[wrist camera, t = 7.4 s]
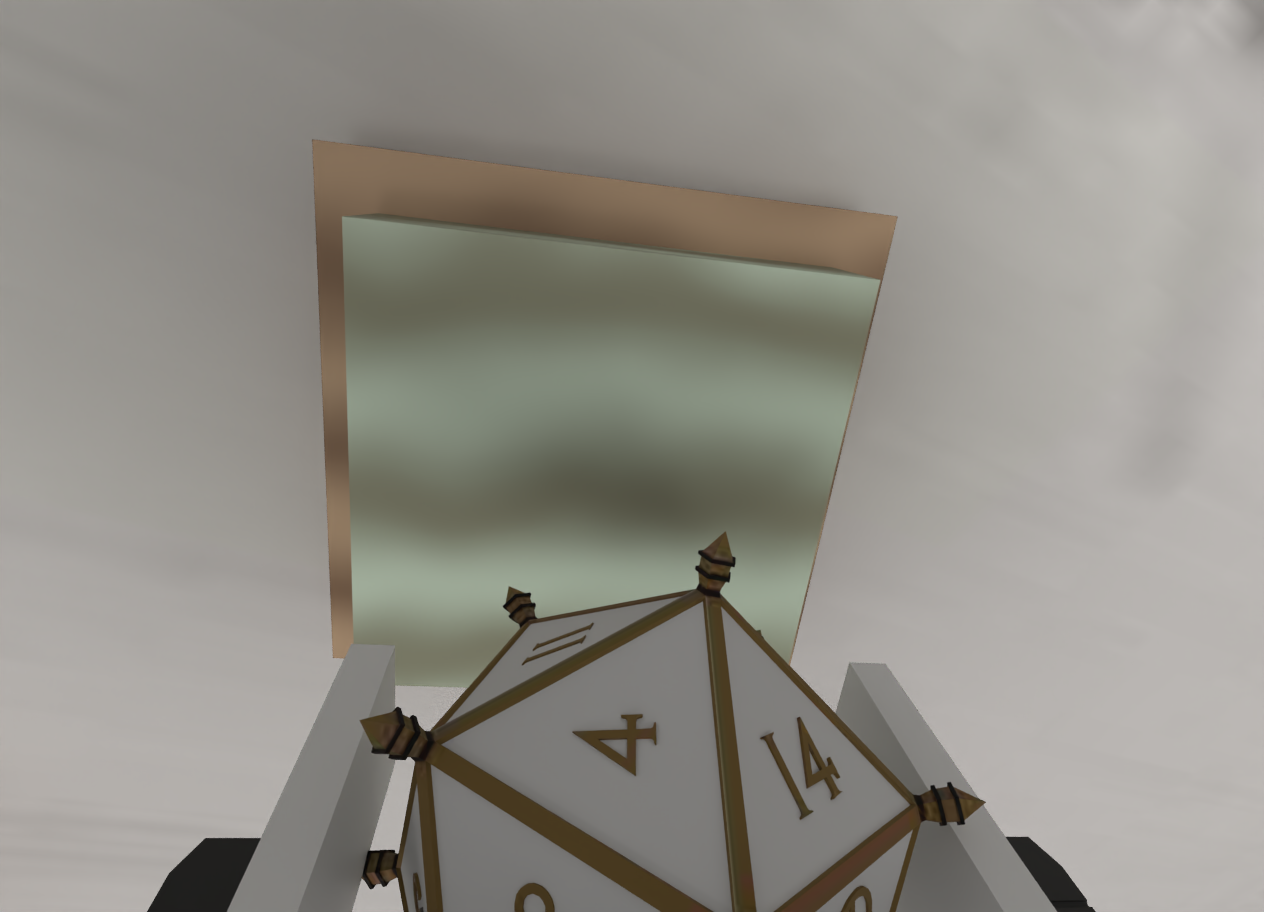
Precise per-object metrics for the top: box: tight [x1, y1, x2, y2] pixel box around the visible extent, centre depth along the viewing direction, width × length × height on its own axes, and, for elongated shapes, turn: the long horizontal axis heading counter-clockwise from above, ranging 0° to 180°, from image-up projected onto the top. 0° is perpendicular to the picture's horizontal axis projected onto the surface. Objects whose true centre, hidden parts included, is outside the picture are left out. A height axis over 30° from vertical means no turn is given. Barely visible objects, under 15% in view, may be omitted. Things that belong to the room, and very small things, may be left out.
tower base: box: [312, 139, 897, 688], centre depth 26 cm, size 20×20×8 cm
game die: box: [359, 531, 986, 912], centre depth 10 cm, size 9×8×10 cm
